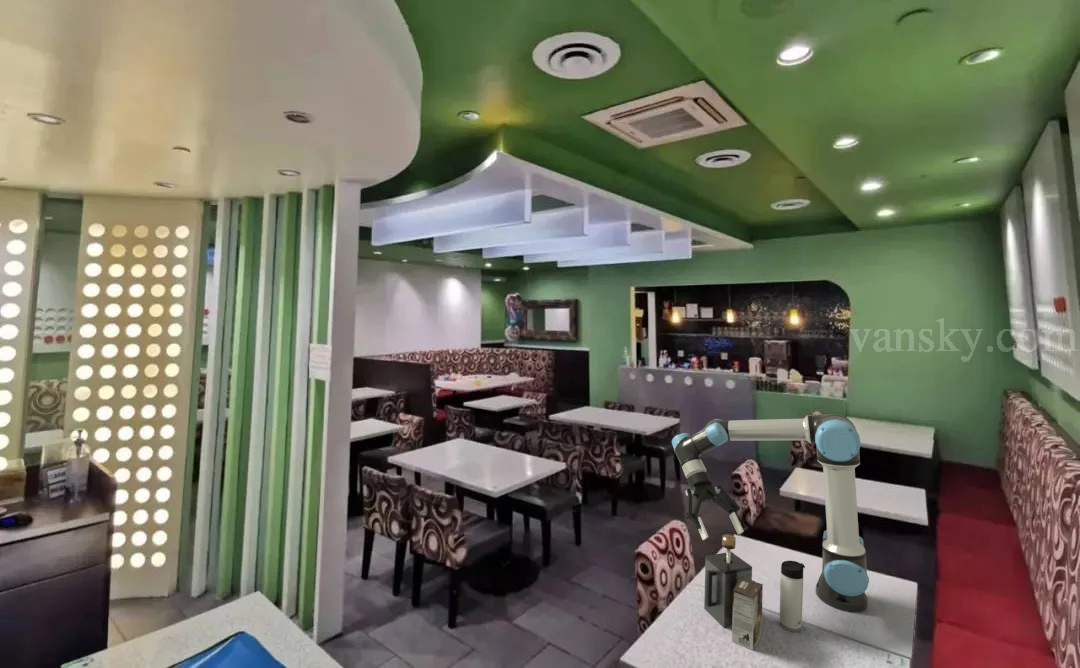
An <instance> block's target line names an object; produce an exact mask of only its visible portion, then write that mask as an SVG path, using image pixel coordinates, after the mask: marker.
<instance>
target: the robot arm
mask: <svg viewBox="0 0 1080 668" xmlns="http://www.w3.org/2000/svg"><path fill="white" fill-rule="evenodd" d="M732 441H735V442H736V441H737V442H739V441H742V442H743V441H744V442H745V441H746V442H749V441H753V442H754V441H757V442H758V441H762V442H763V441H765V442H767V441H768V442H769V441H771V442H772V441H774V442H775V441H776V442H777V441H807V442H808V443H809V444H816V460H817V462H818V463H819V464H821V466H822V471H823V472H822V473H823V484H824V485H823V488H824V503H825V518H826V529H825V530H824V531H823V536H822V539H823V540H822V562H821V563H822V564H821V565H822V568H821V573H820V576H819V578H818V580H817V582H816V584H815V594H816V596H817V598H818V599H819V600H820V601H822V602H824V603H825V604H827V605H829V606H830V607H833V608H835V609H839V610H841V611H846V612H854V613H857V612H863V611H865V610H867V608H868V603H869V602H868V600H869V599H868V597H867V594H866V591H867V589H868V587H869V583H870V578H869V575H868V570H867V569H868V568H867V554H866V553H867V551H866V548H865V544H864V539H863V538H862V537H861V536H860V535H859V534H860V533H859V521H858V520H859V519H858V504H857V500H858V499H857V486H856V485H857V484H856V470H855V469H856V468H857V467H858V466H860V465H861V457H860V450H861V449H860V448H861V438H860V434H859V433H858V431H857V429H856V426H855V425H854V423H853V421H851V420H850V418H847V417H846V416H844V415H841V414H837V413H828V414H827V413H826V414H814V415H813V414H811V415H810V414H809V415H805V417H804V418H774V419H771V418H770V419H742V420H741V419H736V420H722V419H719V418H714V419H712V420H710V421H708V422H707V423H706V425H705V426H704V427H703V428H702V429H701V430H699V431H697V432H696V433H694V434H692V435H690V433H687V432H686V433H685V432H683V433H681V434H677V435H675V436H674V437H673V438H672V439H671V444H672V447H673V451H674V453H675V455H676V457H677V459H678V461H679V464H680V466H681V468H682V471H683V474H684V476H685V478H686V479H687V480H686V481H687V483H688V485H689V488H687V489H686V490H685V491H684V495H685V519H687V520H688V519H689V520H690V521H691V522H693V523H692V524H694V527H695V529H696V530H698V532H699V534H700V537H701V539H702V541H705V540H707V539H708V538H709V534H708V532H707V529H706V528H705V525H704V523H703V520H702V518H701V516H699V512H700V509H701V505H702V503H706V502H708V503H709V502H712V503H715V504H716V505H718V506H719V507H720V508H722V509H723V510H724V511H726V512H727V513H728V514H729V515H728V516H729V519H730V521H731V523H732V525H733V528H734V529H735V531H736V534H737V535H738V536H739V535H740V536H741V534H743V533H744V531H745V530H744V529H743V526H742V524H741V518H740V516H739V515H738V514H739V513H738V512H739V511H740V510H741V506H739V505H738V504H737V502H735V501H734V499H732V497H731V496H730V495H728V494H727V492H726V491H725V490H724V489H723V486H722V485H720V484H719V485H717V486H715V487H714V485H713V484H712V480H711V478H710V475H709V473H708V472H707V468H706V466H705V465H704V462H703V460H702V457H701V456H702V455H704V454H705V453H708V452H710V451H712V450H714V449H716V448H718V447H720V446H722V445H723V444H724V443H727V442H732ZM693 496H694V497H695V502H694V507H693Z"/></svg>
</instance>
